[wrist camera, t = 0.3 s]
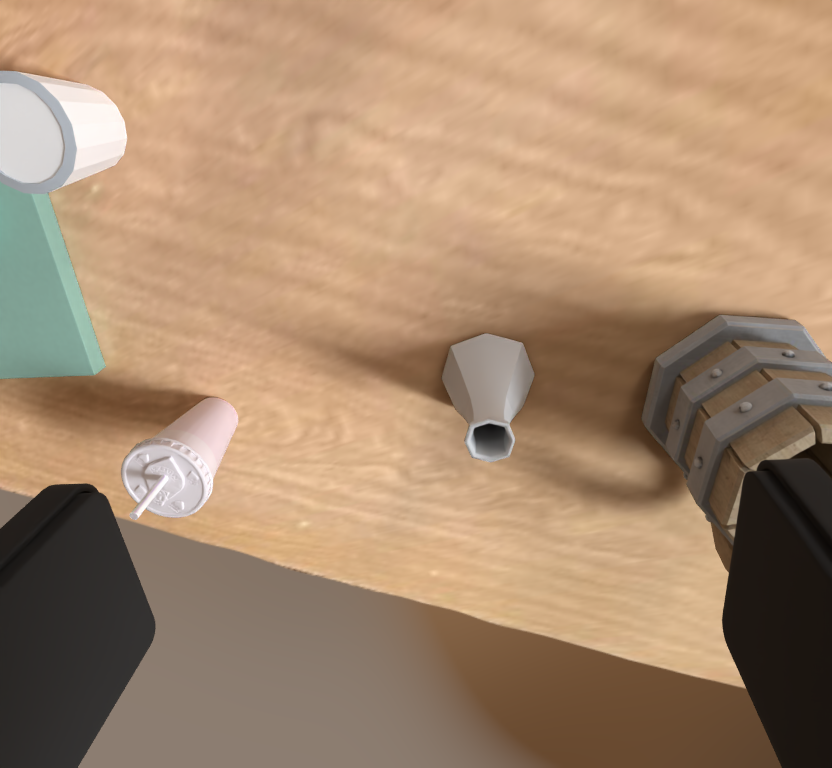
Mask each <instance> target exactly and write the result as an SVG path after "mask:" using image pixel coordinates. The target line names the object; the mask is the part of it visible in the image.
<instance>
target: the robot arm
mask: <svg viewBox="0 0 832 768" xmlns="http://www.w3.org/2000/svg"><path fill="white" fill-rule="evenodd" d="M722 625H723V632H724V637H725V641H726V643H727V646H728V649H729V651H730V653H731V655H732V657H733V660H734V662H735V664H736V666H737V668H738V671H739V673H740V675H741V677H742V680H743V682H744V684H745V686H746V688H747V691H748V693H749V695H750V697H751V700H752V702H753V704H754V706H755V708H756V711H757V713H758V715H759V717H760V719H761V722H762V724H763V726H764V728H765V731H766V733H767V735H768V737H769V740H770V742H771V744H772V746H773V748H774V751H775V753H776V755H777V757H778V760H779V762H780V764H781V766H782V768H832V479H831V478H830V477H829V476H828V475H827V473H826V472H825V471H824V470H823V469H822V468H821V467H820V466H819V465H818V464H817V463H816V462H815V461H814V460H812V459H808V458H803V459H775V460H763V461H761V462H760V463H759V465H758V467H757V470H756V471H748V472H747V473H746V474H745V476H744V479H743V483H742V490H741V497H740V503H739V510H738V516H737V523H736V530H735V536H734V543H733V550H732V556H731V563H730V569H729V576H728V583H727V589H726V596H725V603H724V609H723V617H722ZM154 634H155V620H154V616H153V614H152V611H151V609H150V606H149V604H148V601H147V599H146V596H145V593H144V591H143V588H142V586H141V583H140V580H139V578H138V575H137V573H136V570H135V568H134V565H133V562H132V560H131V558H130V555H129V552H128V550H127V547H126V545H125V542H124V540H123V537H122V534H121V532H120V529H119V527H118V524H117V522H116V519H115V516H114V514H113V511H112V509H111V506H110V504H109V501H108V499H107V498H106V496H105V495H104V494H102V493H99V492H98V490H97V489H96V488H95V487H94V486H93V485H90V484H60V485H51V486H48V487H47V488H45V489H44V490H42V491H41V492H40V493H39V494H38V495H37V496H36V497H35V498H34V499H32V500H31V501H30V502H29V503H28V504H27V505H26V506H25V507H24V508H23V509H21V510H20V511H19V512H18V513H17V514H16V515H15V516H14V517H13V518H12V519H10V521H8V522H7V523H6V524H5V525H4V526H3V527H2V528H1V529H0V768H78V766H79V764H80V763H81V761H82V759H83V758H84V756H85V754H86V753H87V750H88V749H89V747H90V746H91V744H92V743H93V741H94V739H95V737H96V736H97V734H98V732H99V731H100V729H101V727H102V726H103V724H104V722H105V721H106V719H107V717H108V716H109V714H110V712H111V710H112V709H113V707H114V706H115V704H116V702H117V700H118V699H119V697H120V696H121V694H122V692H123V691H124V689H125V687H126V685H127V684H128V682H129V680H130V679H131V677H132V675H133V674H134V672H135V670H136V669H137V667H138V665H139V664H140V662H141V660H142V658H143V657H144V655H145V653H146V652H147V650H148V649H149V647H150V645H151V643H152V641H153V638H154Z"/></svg>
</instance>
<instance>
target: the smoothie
mask: <svg viewBox="0 0 832 768" xmlns="http://www.w3.org/2000/svg"><path fill="white" fill-rule="evenodd" d="M237 424H238V416H237V413H236V411H235V409H234V408H233V407H232V405H231V404H229V403H228V402H227V401H225V400H223V399H220V398H215V397H210V398H206V399H204V400H202V401H201V402H199V403H198V404H197V405H195V406H194V407H193V408H191V409H190V410H189V411H187V412H186V413H185V414H183V415H182V416H181V417H179V418H178V419H177V420H175V421H174V422H173V423H171V424H170V425H169V426H167V427H166V428H165V429H163V430H162V431H161V432H159V433H158V434H157V435H155V436H154V437H153V438H151V439H146V440H144V441H142V442H140V443H138V444H136V445H135V446H134V448H133V449H132V450H131V451H130V453H129V454H128V455H127V456H126V457H125V459H124V461H123V463H122V468H121V476H122V481H123V484H124V486H125V488H126V490H127V492H128V493H129V495H130V496H131V497H132V498H133V499H134V500H135V501H136V502H137V503H138V505H137V506H136V507H135V508H134V510H133V511H132V512H131V513H130V517H131V518H132V519H134V520H136V519H138V517H139V516H140V515H141V514H142V512H143V511H144V510H145V509H146V510H148V511H150V512H152V513H155V514H157V515H160V516H164V517H171V518H179V517H185V516H189V515H191V514H193V513H195V512H197V511H198V510H199V509H200V508H201V507H202V506H203V504H204V503H205V502H206V501H207V500H208V498H209V496H210V495H211V493H212V488H213V478H214V476H215V474H216V471H217V469H218V467H219V465H220V462H221V460H222V458H223V456H224V454H225V451H226V449H227V447H228V445H229V442H230V440H231V438H232V436H233V434H234V431H235V429H236V427H237Z"/></svg>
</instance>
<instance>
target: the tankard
mask: <svg viewBox="0 0 832 768" xmlns="http://www.w3.org/2000/svg"><path fill="white" fill-rule="evenodd" d="M641 420H642V422H643V424H644V426H645V427H646V429H647V430H648V431H649V432H650V433H651V435H652V436H653V437H654V438H655V439H656V440H657V442H658V443H659V444H660V445H661V446H662V447H663V449H664V450H665V451H666V452H667V453H668V454H669V456H670V457H671V458H672V459H673V460H674V461H675V463H676V464H677V465H678V466H679V467H680V468H681V470H682V471H683V472H684V473H683V476H684V478H685V479H686V480H687V483H686V485H687V487H688V488H689V490H690V492H691V494H692V496H693V498H694V500H695V502H696V504H697V505H698V506H699V507H700V508H701V509H702V511H703V512H704V513H705V514H706V515H705V517H706V520H707V521H709V522H711V526H712V532H713V537H714V542H715V547H716V550H717V552H718V554H719V556H720V558H721V561H722V563H723V565H724V567H725V569H726V570H727V571H728V572H729V569H730V563H731V556H732V550H733V543H734V536H735V530H736V523H737V516H738V510H739V503H740V497H741V490H742V483H743V479H744V476H745V474H746V473H747V472H748V471H756V470H757V467H758V465H759V463H760V462H761V461H763V460H775V459H803V458H808V459H812V460H814V461H815V462H816V463H817V464H818V465H819V466H820V467H821V468H822V469H823V470H824V471H825V472H826V473H827V475H828V476H829V477H830V478H831V479H832V362H831V361H829V360H828V359H827V358H826V357H825V356H824V354H823V353H822V351H821V350H820V349H819V347H818V346H817V344H816V343H815V341H814V340H813V339H812V337H811V336H810V334H809V333H808V332H807V330H806V329H805V327H804V326H803V325H801V324H800V323H799V322H797V321H796V320H787V319H773V318H759V317H744V316H730V315H719V316H717V317H716V318H714V319H713V320H711V321H710V322H708V323H707V324H705V325H704V326H702V327H701V328H699V329H698V330H696V331H695V332H693V333H692V334H690V335H689V336H688V337H686V338H685V339H683V340H682V341H680V342H679V343H677V344H676V345H674V346H673V347H671V348H670V349H668V350H667V351H665V352H664V353H662V354H661V355H659V356H658V357H657V358H656V359H655V363H654V367H653V371H652V376H651V380H650V384H649V388H648V392H647V397H646V401H645V405H644V409H643V413H642V418H641Z"/></svg>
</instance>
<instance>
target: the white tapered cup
mask: <svg viewBox="0 0 832 768" xmlns="http://www.w3.org/2000/svg"><path fill="white" fill-rule="evenodd" d="M126 142H127V134H126V128H125V122H124V120H123V118H122V116H121V114H120V112H119V110H118V108H117V106H116V105H115V104H114V103H113V102H112V101H111V100H110V99H109V98H108V97H107V96H106V95H105V94H104V93H103V92H102V91H100V90H98V89H95V88H93V87H91V86H89V85H87V84H82V83H76V82H71V81H66V80H60V79H55V78H49V77H44V76H39V75H33V74H28V73H23V72H17V71H0V182H2V183H3V184H5V185H7V186H9V187H11V188H14V189H16V190H18V191H20V192H22V193H29V194H47V193H49V192H52V191H54V190H57V189H59V188H62V187H64V186H66V185H69V184H71V183H74V182H76V181H79V180H81V179H84V178H86V177H89V176H91V175H94V174H96V173H99V172H101V171H104V170H106V169H108V168H110V167H112V166H115V165H116V164H117V163H118V161H119V160H120V159H121V157H122V156H123V155H124V152H125V147H126Z"/></svg>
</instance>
